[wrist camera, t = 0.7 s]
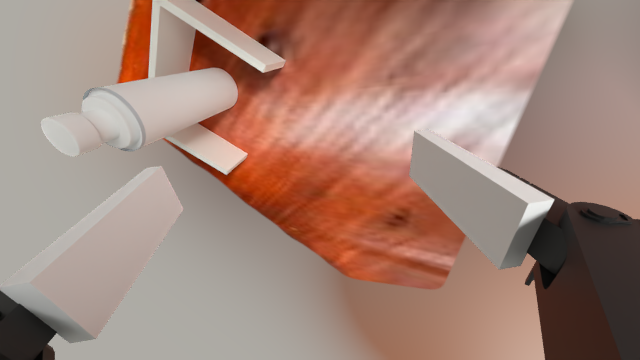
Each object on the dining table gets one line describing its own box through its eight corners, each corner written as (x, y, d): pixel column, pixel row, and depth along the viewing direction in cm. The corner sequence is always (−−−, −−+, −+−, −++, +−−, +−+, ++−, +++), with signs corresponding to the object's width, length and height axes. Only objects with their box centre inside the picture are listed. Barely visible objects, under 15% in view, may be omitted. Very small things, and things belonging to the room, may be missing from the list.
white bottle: (242, 109, 40) (91, 184, 19) (209, 107, 41) (36, 176, 21) (233, 67, 36) (37, 104, 16) (198, 67, 38) (-24, 101, 17)
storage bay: (193, -1, 33) (153, -9, 27) (285, 60, 34) (265, 65, 28) (176, 115, 44) (145, 126, 38) (246, 157, 45) (226, 175, 39)
